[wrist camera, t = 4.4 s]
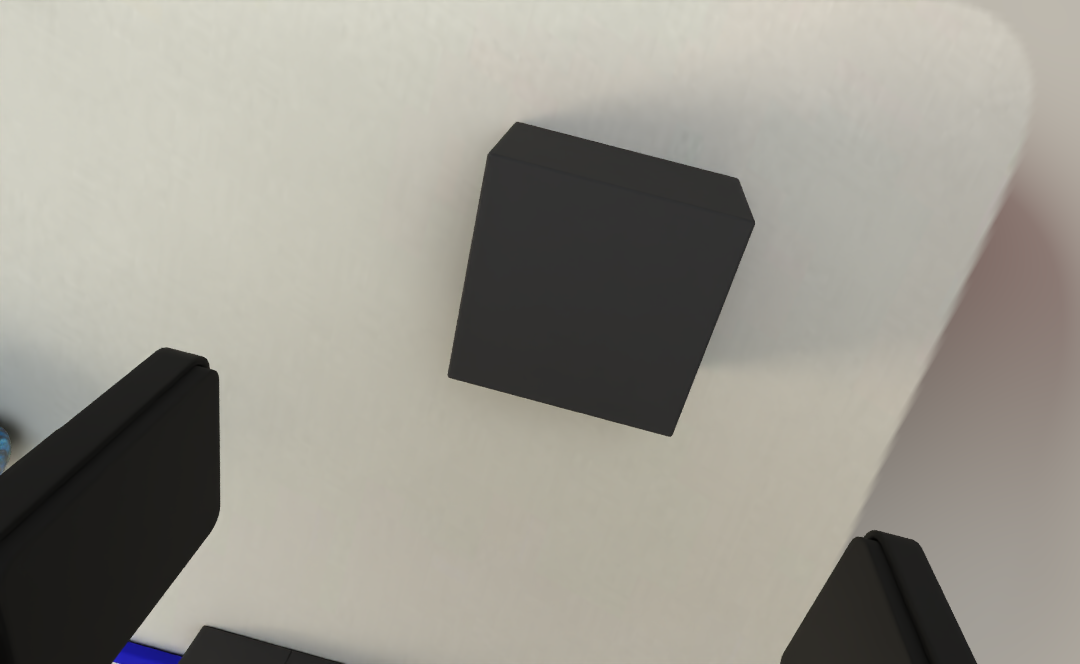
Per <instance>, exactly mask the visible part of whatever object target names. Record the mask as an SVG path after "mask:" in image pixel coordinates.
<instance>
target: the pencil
mask: <svg viewBox="0 0 1080 664" xmlns="http://www.w3.org/2000/svg"><path fill="white" fill-rule="evenodd" d="M181 658H182V657H181V656H178V655H174V654H171V653H167V652H163V651H160V650H156V649H153V648H149V647H146V646H142V645H139V644H135V643H132V642H127V644H126V645H125V646H124V648H123V649H122V650H121V652H120V653H119V654H118V656H117V657H116V658H115V660H114V661H113V662H116V663H119V664H178V662H179V661H180V660H181Z"/></svg>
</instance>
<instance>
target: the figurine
mask: <svg viewBox="0 0 1080 664" xmlns="http://www.w3.org/2000/svg"><path fill="white" fill-rule="evenodd" d="M11 448H12V447H11V441H10V438H9V435H8V433H7V432H6V431H5V430H4V429H3V428H2V427H0V475H1V474H2V473H3V471H4V469H5V467H6V465H7V463H8V461H9V459H10V455H11Z"/></svg>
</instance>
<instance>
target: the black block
mask: <svg viewBox="0 0 1080 664" xmlns="http://www.w3.org/2000/svg"><path fill="white" fill-rule="evenodd" d="M754 225H755V221H754V218H753V216H752V213H751V211H750V208H749V205H748V203H747V200H746V198H745V195H744V192H743V190H742V187H741V185H740V182H739V180H738V179H737V178H733V177H730V176H726V175H722V174H718V173H714V172H710V171H706V170H702V169H699V168H695V167H691V166H687V165H683V164H679V163H675V162H671V161H668V160H664V159H660V158H656V157H652V156H648V155H644V154H640V153H637V152H633V151H629V150H625V149H621V148H617V147H613V146H609V145H606V144H602V143H598V142H594V141H590V140H586V139H582V138H578V137H575V136H571V135H567V134H563V133H559V132H555V131H551V130H547V129H544V128H540V127H536V126H532V125H528V124H524V123H520V122H516V123H515V124H514V125H513V126H512V127H511V128H510V129H509V131H508V132H507V133H506V134H505V135H504V136H503V137H502V139H501V140H500V141H499V142H498V143H497V144H496V145H495V147H494V148H493V149H492V150H491V151H490V152H489V154H488V156H487V161H486V167H485V172H484V178H483V183H482V188H481V194H480V199H479V205H478V210H477V216H476V221H475V227H474V232H473V238H472V243H471V249H470V254H469V260H468V265H467V271H466V276H465V282H464V287H463V293H462V298H461V304H460V309H459V315H458V320H457V326H456V331H455V337H454V342H453V348H452V353H451V359H450V364H449V370H448V377H449V378H452V379H456V380H460V381H463V382H467V383H471V384H474V385H478V386H482V387H486V388H489V389H493V390H497V391H501V392H504V393H508V394H512V395H516V396H519V397H523V398H527V399H531V400H534V401H538V402H542V403H545V404H549V405H553V406H557V407H560V408H564V409H568V410H572V411H575V412H579V413H583V414H587V415H590V416H594V417H598V418H601V419H605V420H609V421H613V422H616V423H620V424H624V425H628V426H631V427H635V428H639V429H643V430H646V431H650V432H654V433H657V434H661V435H665V436H669V437H671V436H672V435H673V432H674V430H675V427H676V425H677V422H678V419H679V417H680V414H681V412H682V409H683V407H684V404H685V402H686V399H687V396H688V394H689V391H690V389H691V386H692V384H693V381H694V379H695V376H696V373H697V371H698V368H699V366H700V363H701V361H702V358H703V356H704V353H705V350H706V348H707V345H708V343H709V340H710V338H711V335H712V333H713V330H714V327H715V325H716V322H717V320H718V317H719V315H720V312H721V310H722V307H723V304H724V302H725V299H726V297H727V294H728V292H729V289H730V287H731V284H732V281H733V279H734V276H735V274H736V271H737V269H738V266H739V264H740V261H741V258H742V256H743V253H744V251H745V248H746V246H747V243H748V241H749V238H750V235H751V233H752V230H753V228H754Z"/></svg>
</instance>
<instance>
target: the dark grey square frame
mask: <svg viewBox="0 0 1080 664" xmlns="http://www.w3.org/2000/svg"><path fill="white" fill-rule="evenodd" d="M178 664H340V663H337V662H333V661H330V660H326V659H322V658H319V657H315V656H312V655H308V654H304V653H301V652H297V651H292V650H289V649H286V648H282V647H279V646H275V645H271V644H268V643H264V642H261V641H257V640H254V639H250V638H246V637H243V636H239V635H236V634H232V633H228V632H225V631H221V630H218V629H214V628H211V627H207V626H203V627H202V629H201V630H200V632H199V633H198V635H197V636H196V638H195V639H194V641H193V642H192V643H191V645H190V646H189V648H188V649H187V651H186V652H185V654H184V655H183V657H182V658H181V660H180V661H179V662H178Z"/></svg>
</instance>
